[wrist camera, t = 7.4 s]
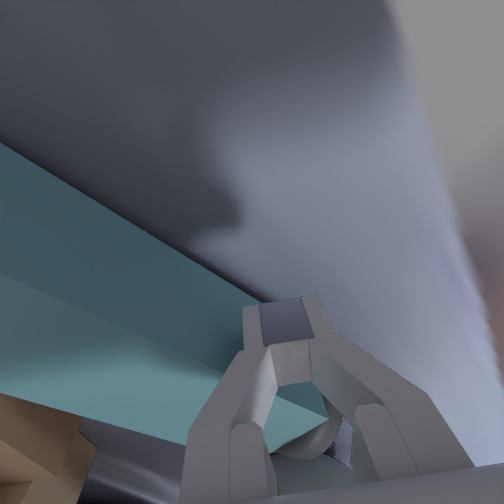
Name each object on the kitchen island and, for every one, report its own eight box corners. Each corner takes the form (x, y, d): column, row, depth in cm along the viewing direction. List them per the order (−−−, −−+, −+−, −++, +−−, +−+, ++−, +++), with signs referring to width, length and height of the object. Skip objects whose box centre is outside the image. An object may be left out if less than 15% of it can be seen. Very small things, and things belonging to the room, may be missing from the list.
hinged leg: (-197, 164, 7) (-732, 245, 3) (-193, 17, 6) (-1172, -173, 2) (267, 380, 14) (281, 492, 10) (324, 338, 13) (368, 450, 9)
